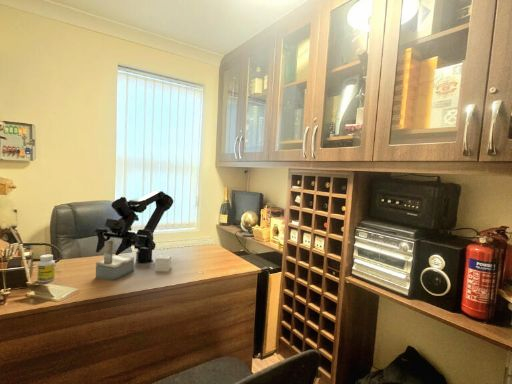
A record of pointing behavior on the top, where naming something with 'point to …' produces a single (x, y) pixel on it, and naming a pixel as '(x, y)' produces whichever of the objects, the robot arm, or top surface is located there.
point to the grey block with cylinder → (110, 260)
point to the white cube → (163, 263)
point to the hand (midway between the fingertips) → (106, 253)
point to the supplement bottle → (46, 268)
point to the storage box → (114, 271)
